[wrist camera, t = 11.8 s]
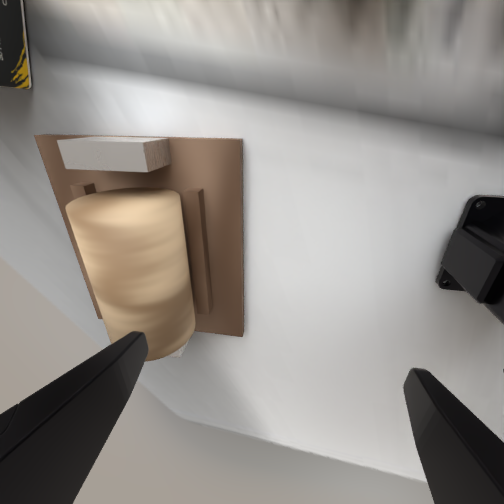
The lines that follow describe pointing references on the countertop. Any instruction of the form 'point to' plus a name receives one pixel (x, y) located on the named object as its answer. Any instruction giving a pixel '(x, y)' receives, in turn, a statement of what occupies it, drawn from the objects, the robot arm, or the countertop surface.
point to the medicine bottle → (13, 46)
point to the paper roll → (137, 264)
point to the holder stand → (192, 204)
